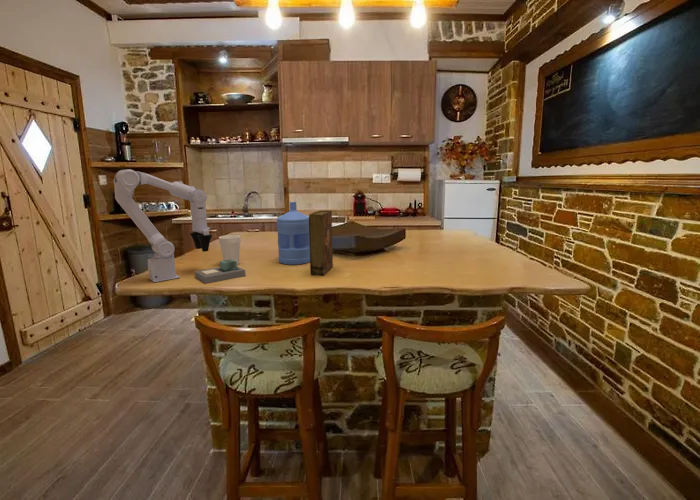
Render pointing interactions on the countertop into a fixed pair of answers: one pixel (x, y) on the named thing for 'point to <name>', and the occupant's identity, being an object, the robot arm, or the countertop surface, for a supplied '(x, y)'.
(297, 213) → the water jug
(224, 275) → the frame
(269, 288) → the countertop surface
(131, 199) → the robot arm
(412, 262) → the countertop surface
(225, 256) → the foam cup
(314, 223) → the book
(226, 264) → the block
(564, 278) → the countertop surface
